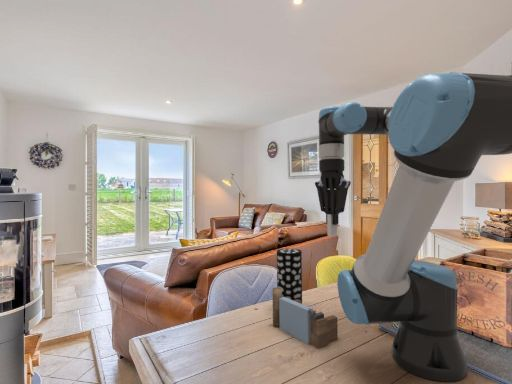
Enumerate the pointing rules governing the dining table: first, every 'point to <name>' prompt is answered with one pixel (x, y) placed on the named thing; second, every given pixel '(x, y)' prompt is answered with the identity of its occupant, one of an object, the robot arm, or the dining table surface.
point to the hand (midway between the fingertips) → (332, 235)
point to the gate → (295, 319)
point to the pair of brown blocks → (311, 323)
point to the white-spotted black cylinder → (290, 273)
